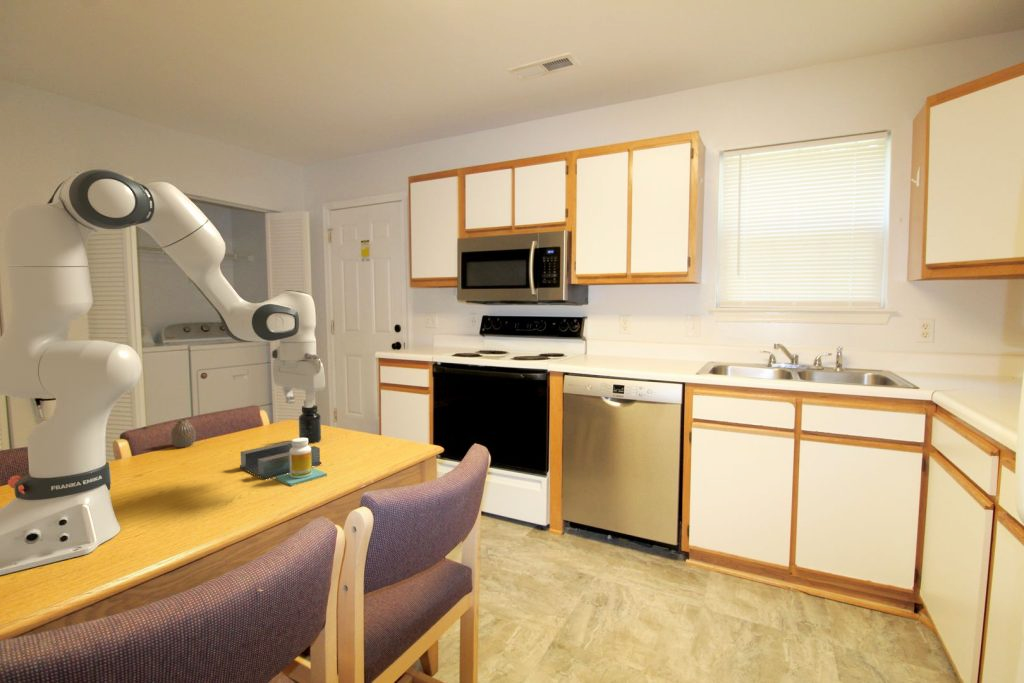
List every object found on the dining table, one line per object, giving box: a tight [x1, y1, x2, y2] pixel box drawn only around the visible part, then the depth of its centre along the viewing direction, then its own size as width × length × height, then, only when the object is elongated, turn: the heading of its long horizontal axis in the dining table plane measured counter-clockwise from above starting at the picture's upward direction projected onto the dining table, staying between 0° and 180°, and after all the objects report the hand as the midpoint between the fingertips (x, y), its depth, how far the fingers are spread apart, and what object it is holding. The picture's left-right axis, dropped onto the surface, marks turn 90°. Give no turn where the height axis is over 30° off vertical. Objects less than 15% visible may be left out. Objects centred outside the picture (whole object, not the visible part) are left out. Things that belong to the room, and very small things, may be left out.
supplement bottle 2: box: [289, 437, 313, 478], centre depth 131 cm, size 5×5×10 cm
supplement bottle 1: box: [298, 404, 322, 444], centre depth 165 cm, size 7×7×12 cm
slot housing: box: [239, 440, 322, 481], centre depth 140 cm, size 16×15×5 cm
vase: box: [169, 418, 197, 449], centre depth 159 cm, size 7×7×9 cm
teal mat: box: [275, 467, 328, 487], centre depth 131 cm, size 10×8×1 cm
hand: (299, 405), depth 130 cm, fingers open, 8 cm apart
